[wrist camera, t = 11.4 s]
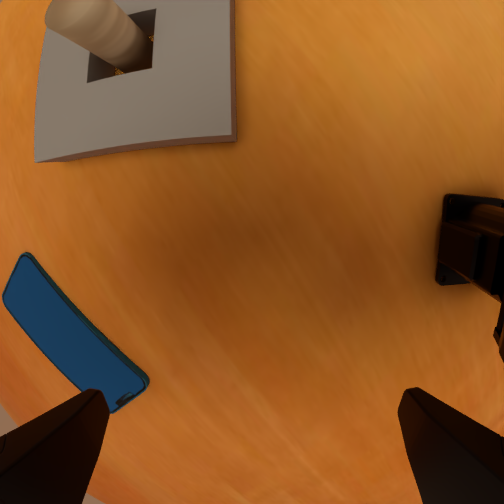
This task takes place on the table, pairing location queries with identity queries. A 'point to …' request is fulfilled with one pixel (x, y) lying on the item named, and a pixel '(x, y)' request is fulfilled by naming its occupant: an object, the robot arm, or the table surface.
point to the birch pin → (102, 32)
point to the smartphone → (69, 336)
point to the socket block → (141, 86)
